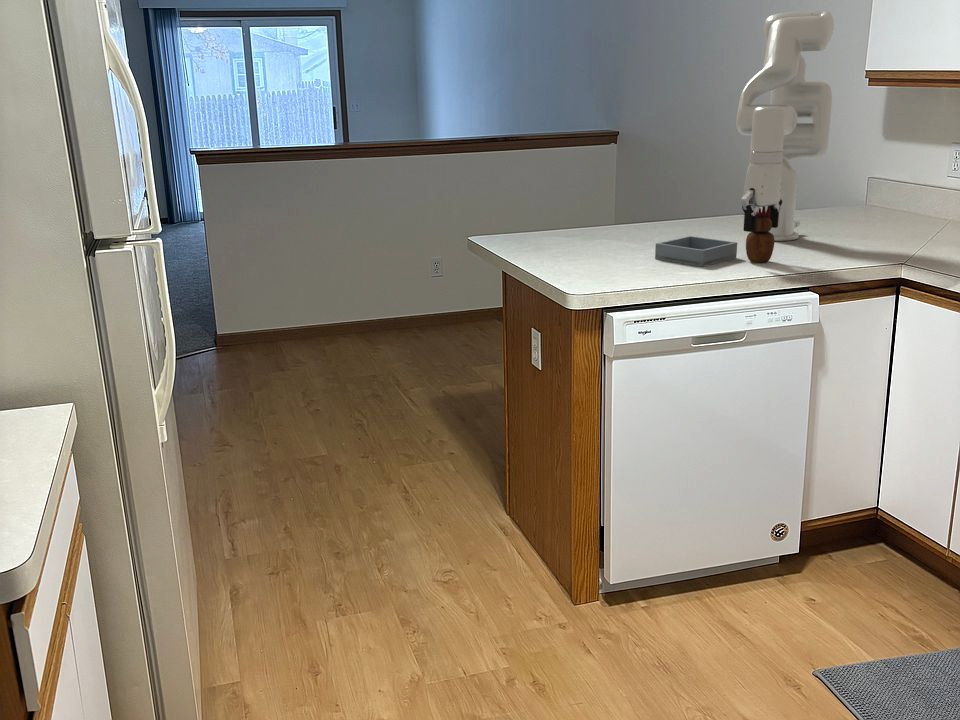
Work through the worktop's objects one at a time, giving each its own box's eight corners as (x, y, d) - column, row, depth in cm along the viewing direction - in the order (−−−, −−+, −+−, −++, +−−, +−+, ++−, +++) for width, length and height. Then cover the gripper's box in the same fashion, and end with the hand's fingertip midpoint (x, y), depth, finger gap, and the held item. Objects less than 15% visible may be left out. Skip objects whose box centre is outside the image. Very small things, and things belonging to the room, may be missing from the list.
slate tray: (689, 250, 246) (690, 235, 245) (736, 257, 236) (737, 242, 234) (655, 258, 237) (655, 243, 236) (702, 266, 227) (703, 250, 225)
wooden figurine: (773, 260, 232) (777, 200, 228) (772, 264, 227) (776, 203, 222) (745, 258, 234) (749, 199, 230) (743, 263, 229) (747, 203, 225)
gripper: (771, 156, 231) (766, 224, 236) (732, 160, 220) (727, 231, 225) (798, 157, 226) (793, 227, 231) (759, 162, 215) (754, 235, 220)
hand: (760, 229), depth 228 cm, fingers open, 9 cm apart
